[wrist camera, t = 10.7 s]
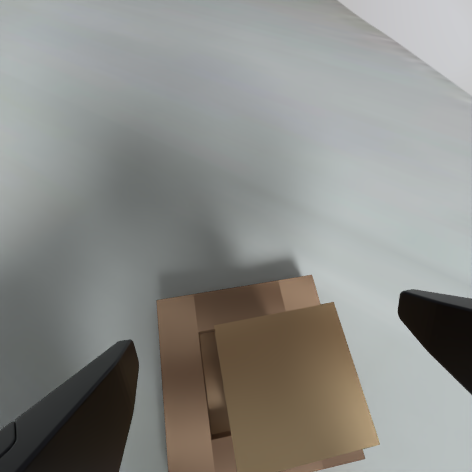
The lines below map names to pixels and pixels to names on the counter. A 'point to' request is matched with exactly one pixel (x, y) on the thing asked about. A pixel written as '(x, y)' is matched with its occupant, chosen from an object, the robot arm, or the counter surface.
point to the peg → (291, 390)
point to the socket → (215, 370)
